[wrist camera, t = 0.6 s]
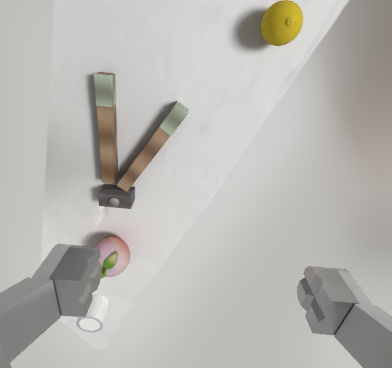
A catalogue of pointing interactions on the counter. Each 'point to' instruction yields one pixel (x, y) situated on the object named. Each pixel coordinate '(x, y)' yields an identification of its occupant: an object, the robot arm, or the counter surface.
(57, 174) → the counter surface
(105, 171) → the tongs base
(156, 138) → the tongs arm
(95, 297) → the shot glass
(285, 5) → the lemon
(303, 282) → the robot arm
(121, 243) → the decorative fruit
